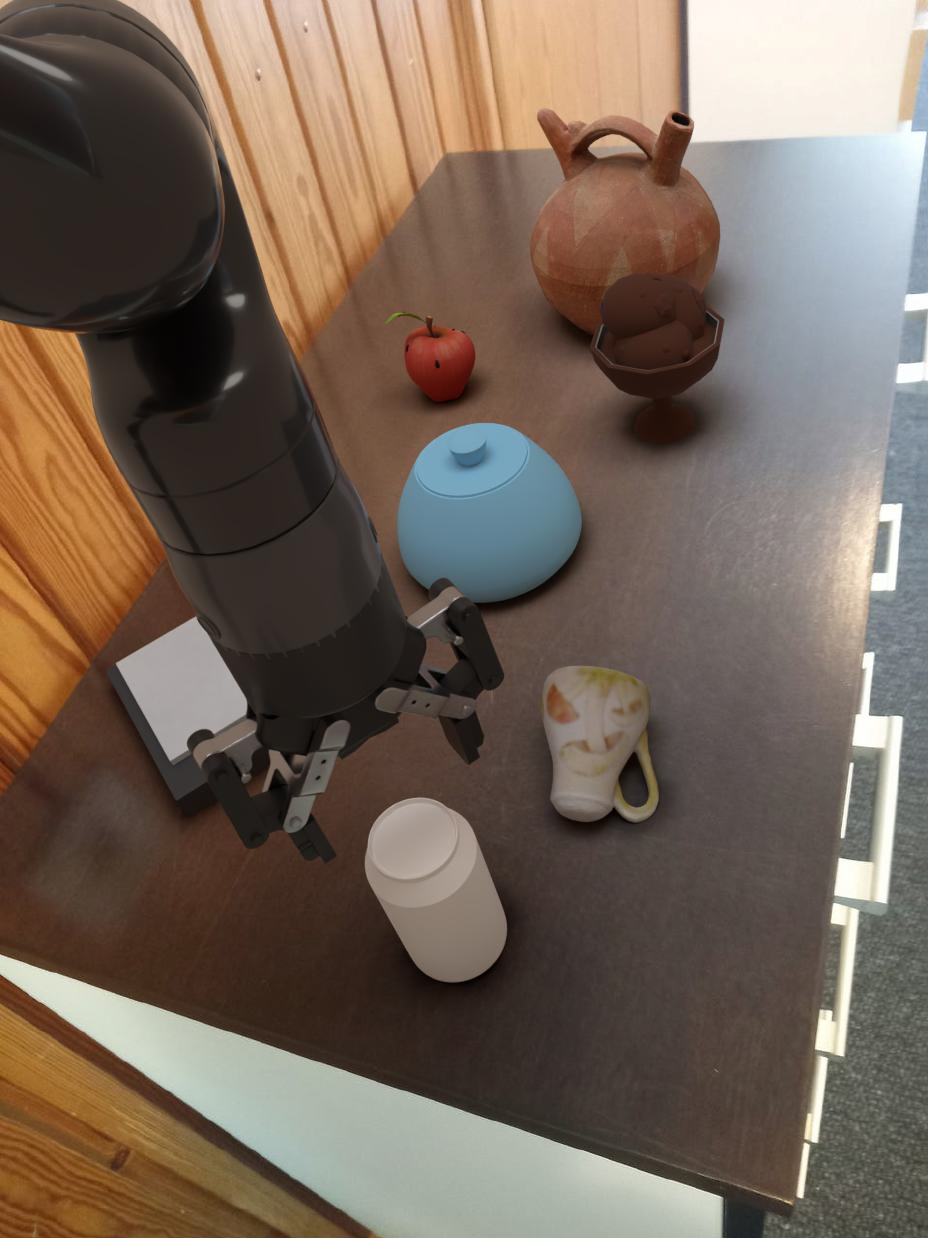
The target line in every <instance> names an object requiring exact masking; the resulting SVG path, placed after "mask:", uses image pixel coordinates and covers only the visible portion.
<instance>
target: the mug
mask: <svg viewBox="0 0 928 1238" xmlns="http://www.w3.org/2000/svg"><path fill="white" fill-rule="evenodd" d="M540 711H541V719H542V720H541V721H542V724H543V728H544V732H545V735H546V741H547V743H548V748H549V750H550V751H549V752H550V755H551V760H552V784H551V791H550V797H549V799H550V802H551V804H552V805H553V807H554V808H555V810H556V811H557V812H558V814H560V815H561V816H563V817H565V818H567V819H569V820H571V821H576V822H581V823H584V822H585V823H590V822H595V821H598V820H601V819H603V818H604V817H606V816H607V815H608V814H610V812H612V811H613V808H614V809H615V810H616V812H617V813H618V814H619V815H620V816H621V817H622V818H623V819H625V820H626V821H628V822H631V823H635V824H637V823H640V822H641V823H642V822H644V821H646V820H648V819H649V818H650V817H651V816H652V815H653V814H654V813H655V812H656V809H657V807H658V804H659V802H660V790H659V782H658V779H657V777H656V773H655V771H654V766H653V763H652V759H651V754H650V750H649V735H648V731H647V725H648V723H649V718H650V713H651V695H650V690H649V687H648V685H647V684H646V683H645V682H643V681H642V680H641V679H638V678H637V677H635V676H633V675H631V674H628V673H626V672H623V671H621V670H616V669H612V668H607V667H602V666H595V665H594V666H593V665H567V666H562V667H559V668H555V670H553V671H552V672H551V673H550V674H549V675H548V676H547V677H546V679H545V681H544V684H543V688H542V693H541V698H540ZM633 753H635V755H636V757H637V760H638V762H639V764H640V767H641V769H642V772H643V775H644V779H645V782H646V785H647V791H648V792H647V793H648V796H647V801H646V803H645V804H644V805H642V806H637V807H635V806H632V805H630V804H629V803H628V802H627V801H626V800H625V798H624V796H623V791H622V787H621V785H620V781H619V777H620V775H621V773H622V771H623V770H624V768H625V766H626V764H627V763H628V760H629V759H630V757H631V756H632V755H633Z"/></svg>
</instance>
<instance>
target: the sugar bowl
mask: <svg viewBox="0 0 928 1238" xmlns="http://www.w3.org/2000/svg"><path fill="white" fill-rule="evenodd" d="M396 518H397V520H396V521H397V523H396V524H397V527H396V528H397V541H398V542H397V543H398V549H399V552H400V556H401V559H402V562H403V564H404V566H405V568H406V569H407V572H408V573H409V574H410V576H412V577H413V578H414V579H415V580H416V582H418V583H419V584H420V585H421V586H422V587H424V588H425V589H427V590H428V591H429V589H430V587H431V585H432V584H433V583H434V582H435V581H436V580H438V579H440V578H447V579H449V580H450V581H451V582H452V583H453V584H454V585H455V586H456V587H457V588H458V589H459V590H460V591H461V592H462V593H463V594H464V595H465V596H466V597H467V598H468V599H469V600H470V601H471V602H472V603H474V604H485V603H497V602H501V601H507V600H510V599H513V598H517V597H518V596H522V595H525V594H526V593H528V592H531V591H533V590H534V589H536V588H537V587H539V586H541V585H542V584H544V583H545V582H546V581H548V580H549V579H550V578H551V577H553V576H554V575H555V574H556V573H557V572H558V571H559V570H560V569H561V568H562V567H563V566H564V565H565V564H566V562H567V561H568V560H569V559H570V557H571V556H572V554H573V552H574V551H575V549H576V547H577V545H578V543H579V540H580V536H581V534H582V533H581V532H582V526H583V516H582V511H581V506H580V502H579V499H578V497H577V494H576V492H575V490H574V487H573V485H572V483H571V482H570V480H569V478H568V476H567V475H566V473H565V472H564V470H563V469H562V468H561V466H560V465H559V463H557V461H556V460H555V459H554V458H553V457H552V456H551V455H550V454H549V453H548V452H546V451H545V450H544V449H543V448H542V447H540V445H538V444H537V443H535V442H534V441H533V440H531V439H530V438H529V437H528V436H526V435H525V434H524V433H521V432H520V431H519V430H516V429H514V428H513V427H511V426H508V425H504V424H501V423H493V422H477V423H476V422H475V423H470V424H466V425H461V426H459V427H455V428H453V429H451V430H448V431H446V432H444V433H442V434H440V435H439V436H437V437H436V438H435V439H432V441H430V443H428V444H427V445H426V446H425V447H424V448H423V449H422V451H421V452H419V455H418V457H417V458H416V460H415V461H414V464H413V465H412V467H411V469H410V472H409V473H408V477H407V479H406V482H405V485H404V486H403V490H402V493H401V497H400V500H399V504H398V511H397V517H396Z"/></svg>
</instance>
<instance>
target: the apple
mask: <svg viewBox="0 0 928 1238" xmlns="http://www.w3.org/2000/svg"><path fill="white" fill-rule="evenodd" d="M400 317H411V318H412V319H416V320H419V321H421V322H423V323H425V325H426V326H423V327H419V328H416V329H413V330H412V331H410V332H409V334H408V335H407V337H406V338H405V342H404V364H405V368H406V372H407V374H408V376H409V378H410V379H411V380H412V382H413V383H414V384H415V385H416V386H417V387H418V388H419V389H420V390H421V391H422V392H424V394H425V395H427V397H428V398H430V399H431V400H432V401H434V402H437V403H440V402H441V403H443V402H445V401H450V400H456V399H458V398H459V397H461V395H462V393H463V392H464V389H465V387H466V386H467V384H468V381H469V380H470V377H471V375H472V373H473V370H474V369H475V368H474V367H475V363H476V348H475V345H474V343H473V341H472V339H471V337H469V335H467V333H466V332H465V331H463V330H458V329H455V328H450V327H442V326H436V325H433V321H434V317H433V316H431V315H426V316H425V320H423V319H422V318H421V317H419V315H416V314H414V313H411V312H406V311H402V312H395V313H393V314H392V315H390V317H388V318H387V320H386V321H385V322H384V323H382V324H381V326H384V325H387V324H388V323H390V322H391V321H393V320H394V319H396V318H400Z"/></svg>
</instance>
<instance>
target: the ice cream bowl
mask: <svg viewBox="0 0 928 1238" xmlns="http://www.w3.org/2000/svg"><path fill="white" fill-rule="evenodd" d="M599 312H600V314H601V317H602V322H600V323H599V324H597V326H596V329H595V333H594V336H593V335H592V338H591V339H592V340H591V343H590V346H589V351H590V353H591V356H592V358H593V360H594V363H595V364H596V365H597V367H598V368H599V369H600V371H601V372H602V374H604V376H605V377H606V378H607V379H608V380H609V381H610V382H611V383H612V384H613V385H614V386H615V388H617V389H618V390H619V391H621V392H624V393H625V394H628V395H631V396H635V397H639V398H640V397H641V398H645V399H651V400H652V401H651V402H652V405H649V406H648V407H647V408H646V409H644V410H643V411H641V412H639V413H638V414H637V416H636V420H635V423H634V428H633V431H634V433H635V434H636V435H637V436H638V437H639V438H640V439H641V440H642V441H643V442H648V443H654V444H659V445H663V444H667V443H673V442H677V441H678V442H679V441H681V440H682V439H684V438H685V437H686V436H688V435H689V434H691V433H692V432H693V431H694V428H695V423H696V416H695V414H694V413H693V412H692V411H691V410H690V409H689V408H688V407H687V406H686V405H683V404H679V403H674V399H673V396H677V395H681V394H683V393H684V392H686V391H687V390H688V389H690V388H691V387H693V386H694V385H695V384H697V383H698V382H699V381H701V380H702V379H703V378H704V377H706V376H707V375H709V373H710V372H711V371H713V369H714V367H715V365H716V363H717V361H718V359H719V354H720V348H721V343H722V337H723V332H724V326H725V318H724V317H722V316H721V315H720V314H719V313H717V312H716V311H715V310H714V309H713V308H712V307H710V306H709V305H707V303H706V297H705V296H704V295H703V293H702V294H701V293H700V292H699V291H698V290H697V289H695V288H693V287H692V286H691V285H689V284H688V283H687V282H685V281H684V280H682V279H680V278H679V277H677V276H673V275H664V274H657V275H656V274H653V273H634V274H631V275H628V276H625V277H623V278H620V279H618V280H617V281H616V282H615V283H614V284H613V285H612V286H611V287H610V288H609V289H608V290H607V291H606V292H605V295H604V298H603V302H602V304H601V307H600V310H599Z"/></svg>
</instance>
